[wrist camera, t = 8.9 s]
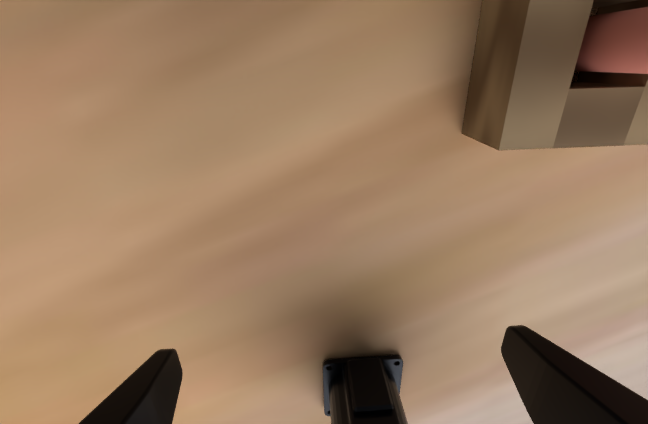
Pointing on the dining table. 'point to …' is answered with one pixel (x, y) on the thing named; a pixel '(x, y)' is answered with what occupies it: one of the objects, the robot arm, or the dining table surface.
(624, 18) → the reddish pink rod
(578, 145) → the brown square holed block
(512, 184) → the dining table surface
